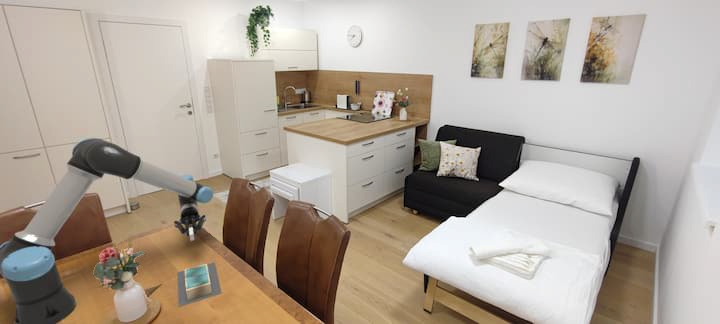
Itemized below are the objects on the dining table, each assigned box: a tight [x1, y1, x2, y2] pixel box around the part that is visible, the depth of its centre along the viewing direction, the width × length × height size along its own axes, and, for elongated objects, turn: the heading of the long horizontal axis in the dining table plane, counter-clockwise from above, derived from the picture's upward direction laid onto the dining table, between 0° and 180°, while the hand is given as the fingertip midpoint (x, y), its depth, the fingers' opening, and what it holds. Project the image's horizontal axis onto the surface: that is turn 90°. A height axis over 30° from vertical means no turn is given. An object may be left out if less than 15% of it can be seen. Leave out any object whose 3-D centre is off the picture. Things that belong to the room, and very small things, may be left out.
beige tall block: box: [184, 263, 212, 300], centre depth 124 cm, size 8×4×14 cm
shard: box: [143, 283, 163, 298], centre depth 119 cm, size 11×8×2 cm
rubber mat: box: [176, 261, 223, 308], centre depth 126 cm, size 14×22×1 cm, turn 29°
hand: (191, 237), depth 134 cm, fingers closed
